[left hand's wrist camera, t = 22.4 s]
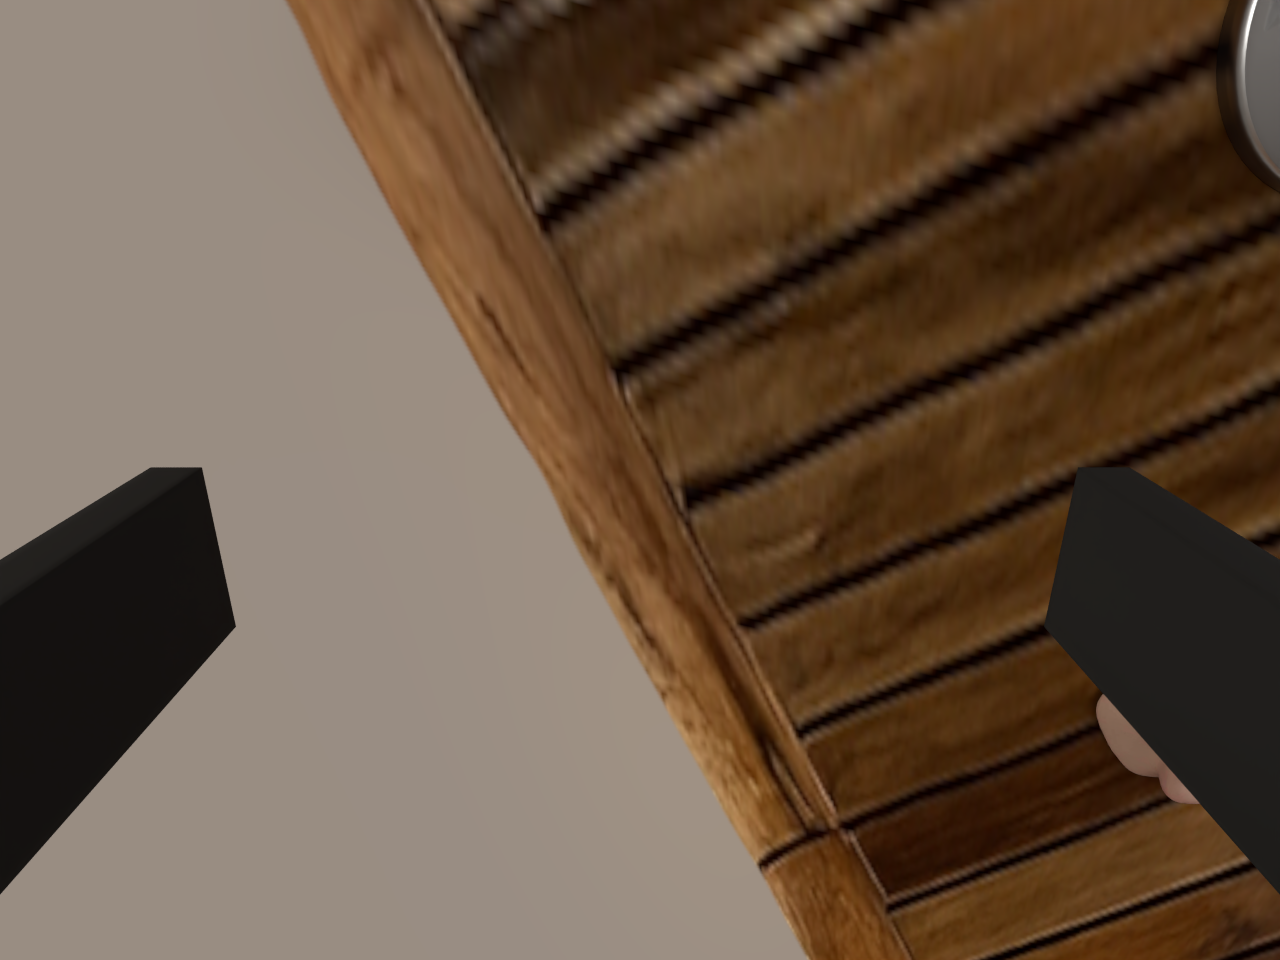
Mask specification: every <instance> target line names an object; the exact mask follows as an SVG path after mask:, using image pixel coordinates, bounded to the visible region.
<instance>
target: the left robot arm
mask: <svg viewBox="0 0 1280 960" xmlns="http://www.w3.org/2000/svg"><path fill="white" fill-rule="evenodd" d="M1216 81H1217V95H1218V102H1219V108H1220V112H1221V116H1222V121H1223V124H1224V126H1225V129H1226V132H1227V135H1228V137H1229V139H1230V141H1231V143H1232V145H1233V147H1234V149H1235V151H1236V152H1237V154H1238V155H1239V157H1240V158H1241V160H1242V161H1243V162H1244V163H1245V165H1246V166H1247V167H1248V168H1249V169H1250V170H1251V171H1252V172H1253V173H1254V174H1255V175H1256V176H1257V177H1258V178H1259V179H1260V180H1262V181H1263V182H1264V183H1266V184H1267V185H1269V186H1270V187H1272V188H1273V189H1275V190H1277V191H1279V192H1280V0H1230V1H1229V5H1228V8H1227V11H1226V14H1225V17H1224V21H1223V25H1222V30H1221V34H1220V40H1219V46H1218V53H1217V68H1216ZM235 627H236V625H235V620H234V616H233V611H232V606H231V602H230V597H229V592H228V588H227V583H226V579H225V574H224V569H223V564H222V560H221V555H220V550H219V546H218V541H217V536H216V531H215V527H214V522H213V517H212V513H211V508H210V503H209V499H208V494H207V489H206V485H205V480H204V475H203V471H202V468H149V469H148V470H146V471H144V472H143V473H141V474H139V475H138V476H136V477H134V478H133V479H131V480H130V481H128V482H126V483H125V484H123V485H121V486H120V487H118V488H116V489H115V490H113V491H112V492H110V493H108V494H107V495H105V496H103V497H102V498H100V499H99V500H97V501H95V502H94V503H92V504H90V505H89V506H87V507H86V508H84V509H82V510H81V511H79V512H77V513H76V514H74V515H72V516H71V517H69V518H68V519H66V520H64V521H63V522H61V523H59V524H58V525H56V526H55V527H53V528H51V529H50V530H48V531H46V532H45V533H43V534H42V535H40V536H38V537H37V538H35V539H33V540H32V541H30V542H28V543H27V544H25V545H24V546H22V547H20V548H19V549H17V550H15V551H14V552H12V553H11V554H9V555H7V556H6V557H4V558H3V559H1V560H0V894H1V893H2V892H3V891H4V889H5V888H6V887H7V886H8V885H9V884H10V883H11V881H12V880H13V879H14V878H15V877H16V876H17V875H18V874H19V872H20V871H21V870H22V869H23V868H24V867H25V866H26V864H27V863H28V862H29V861H30V860H31V859H32V858H33V857H34V855H35V854H36V853H37V852H38V851H39V850H40V849H41V847H42V846H43V845H44V844H45V843H46V842H47V841H48V839H49V838H50V837H51V836H52V835H53V834H54V833H55V832H56V830H57V829H58V828H59V827H60V826H61V825H62V824H63V822H64V821H65V820H66V819H67V818H68V817H69V816H70V814H71V813H72V812H73V811H74V810H75V809H76V808H77V807H78V805H79V804H80V803H81V802H82V801H83V800H84V799H85V797H86V796H87V795H88V794H89V793H90V792H91V791H92V789H93V788H94V787H95V786H96V785H97V784H98V783H99V782H100V780H101V779H102V778H103V777H104V776H105V775H106V774H107V772H108V771H109V770H110V769H111V768H112V767H113V766H114V764H115V763H116V762H117V761H118V760H119V759H120V758H121V757H122V755H123V754H124V753H125V752H126V751H127V750H128V749H129V747H130V746H131V745H132V744H133V743H134V742H135V741H136V739H137V738H138V737H139V736H140V735H141V734H142V733H143V732H144V730H145V729H146V728H147V727H148V726H149V725H150V724H151V722H152V721H153V720H154V719H155V718H156V717H157V716H158V714H159V713H160V712H161V711H162V710H163V709H164V708H165V707H166V705H167V704H168V703H169V702H170V701H171V700H172V699H173V697H174V696H175V695H176V694H177V693H178V692H179V691H180V689H181V688H182V687H183V686H184V685H185V684H186V683H187V681H188V680H189V679H190V678H191V677H192V676H193V675H194V674H195V672H196V671H197V670H198V669H199V668H200V667H201V666H202V664H203V663H204V662H205V661H206V660H207V659H208V658H209V656H210V655H211V654H212V653H213V652H214V651H215V650H216V648H217V647H218V646H219V645H220V644H221V643H222V642H223V641H224V639H225V638H226V637H227V636H228V635H229V634H230V633H231V631H232V630H233V629H234V628H235ZM1044 627H1045V628H1046V629H1047V630H1048V632H1049V633H1050V634H1051V635H1052V636H1053V637H1054V638H1055V639H1056V641H1057V642H1058V643H1059V644H1060V645H1061V646H1062V647H1063V649H1064V650H1065V651H1066V652H1067V653H1068V654H1069V655H1070V657H1071V658H1072V659H1073V660H1074V661H1075V662H1076V663H1077V664H1078V666H1079V667H1080V668H1081V669H1082V670H1083V671H1084V672H1085V674H1086V675H1087V676H1088V677H1089V678H1090V679H1091V680H1092V682H1093V683H1094V684H1095V685H1096V686H1097V687H1098V688H1099V689H1100V691H1101V692H1102V693H1103V694H1104V695H1105V696H1106V697H1107V699H1108V700H1109V701H1110V702H1111V703H1112V704H1113V705H1114V707H1115V708H1116V709H1117V710H1118V711H1119V712H1120V713H1121V714H1122V716H1123V717H1124V718H1125V719H1126V720H1127V721H1128V722H1129V724H1130V725H1131V726H1132V727H1133V728H1134V729H1135V730H1136V732H1137V733H1138V734H1139V735H1140V736H1141V737H1142V738H1143V739H1144V741H1145V742H1146V743H1147V744H1148V745H1149V746H1150V747H1151V749H1152V750H1153V751H1154V752H1155V753H1156V754H1157V755H1158V757H1159V758H1160V759H1161V760H1162V761H1163V762H1164V763H1165V764H1166V766H1167V767H1168V768H1169V769H1170V770H1171V771H1172V772H1173V774H1174V775H1175V776H1176V777H1177V778H1178V779H1179V780H1180V782H1181V783H1182V784H1183V785H1184V786H1185V787H1186V788H1187V789H1188V791H1189V792H1190V793H1191V794H1192V795H1193V796H1194V797H1195V799H1196V800H1197V801H1198V802H1199V803H1200V804H1201V805H1202V807H1203V808H1204V809H1205V810H1206V811H1207V812H1208V813H1209V814H1210V816H1211V817H1212V818H1213V819H1214V820H1215V821H1216V822H1217V824H1218V825H1219V826H1220V827H1221V828H1222V829H1223V830H1224V832H1225V833H1226V834H1227V835H1228V836H1229V837H1230V838H1231V839H1232V841H1233V842H1234V843H1235V844H1236V845H1237V846H1238V847H1239V849H1240V850H1241V851H1242V852H1243V853H1244V854H1245V855H1246V857H1247V858H1248V859H1249V860H1250V861H1251V862H1252V863H1253V864H1254V866H1255V867H1256V868H1257V869H1258V870H1259V871H1260V872H1261V874H1262V875H1263V876H1264V877H1265V878H1266V879H1267V880H1268V882H1269V883H1270V884H1271V885H1272V886H1273V887H1274V888H1275V889H1276V891H1277V892H1278V893H1279V894H1280V560H1279V559H1278V558H1276V557H1274V556H1273V555H1271V554H1269V553H1268V552H1266V551H1265V550H1263V549H1261V548H1260V547H1258V546H1256V545H1255V544H1253V543H1252V542H1250V541H1248V540H1247V539H1245V538H1243V537H1242V536H1240V535H1238V534H1237V533H1235V532H1234V531H1232V530H1230V529H1229V528H1227V527H1225V526H1224V525H1222V524H1221V523H1219V522H1217V521H1216V520H1214V519H1212V518H1211V517H1209V516H1208V515H1206V514H1204V513H1203V512H1201V511H1199V510H1198V509H1196V508H1194V507H1193V506H1191V505H1190V504H1188V503H1186V502H1185V501H1183V500H1181V499H1180V498H1178V497H1177V496H1175V495H1173V494H1172V493H1170V492H1168V491H1167V490H1165V489H1164V488H1162V487H1160V486H1159V485H1157V484H1155V483H1154V482H1152V481H1150V480H1149V479H1147V478H1146V477H1144V476H1142V475H1141V474H1139V473H1137V472H1136V471H1134V470H1133V469H1131V468H1078V471H1077V475H1076V480H1075V485H1074V489H1073V494H1072V499H1071V503H1070V508H1069V513H1068V517H1067V522H1066V527H1065V531H1064V536H1063V541H1062V546H1061V550H1060V555H1059V560H1058V564H1057V569H1056V574H1055V578H1054V583H1053V588H1052V592H1051V597H1050V602H1049V606H1048V611H1047V616H1046V620H1045V625H1044Z"/></svg>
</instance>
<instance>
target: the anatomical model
mask: <svg viewBox="0 0 1280 960" xmlns="http://www.w3.org/2000/svg"><path fill="white" fill-rule="evenodd" d="M1096 714H1097V719H1098V722H1099V725H1100V728H1101V730H1102V732H1103V734H1104V736H1105V738H1106V740H1107V742H1108V744H1109V746H1110V748H1111V750H1112V751H1113V752H1114V754H1115V755H1116V756H1117V757H1118V759H1119V760H1120V761H1121V763H1122V764H1123V765H1124V766H1125V767H1126V768H1127V769H1129V770H1130V771H1132V772H1134V773H1136V774H1139V775H1143V776H1150V777H1159V779H1160V784H1161V787H1162V789H1163V791H1164V792H1165V794H1166V795H1167V796H1168V797H1169V798H1171V799H1172V800H1174V801H1176V802H1180V803H1188V804H1200V803H1199V802H1198V801H1197V800H1196V799H1195V797H1194V796H1193V795H1192V794H1191V793H1190V792H1189V791H1188V789H1187V788H1186V787H1185V786H1184V785H1183V784H1182V783H1181V782H1180V780H1179V779H1178V778H1177V777H1176V776H1175V775H1174V774H1173V772H1172V771H1171V770H1170V769H1169V768H1168V767H1167V766H1166V764H1165V763H1164V762H1163V761H1162V760H1161V759H1160V758H1159V757H1158V755H1157V754H1156V753H1155V752H1154V751H1153V750H1152V749H1151V747H1150V746H1149V745H1148V744H1147V743H1146V742H1145V741H1144V739H1143V738H1142V737H1141V736H1140V735H1139V734H1138V733H1137V732H1136V730H1135V729H1134V728H1133V727H1132V726H1131V725H1130V724H1129V722H1128V721H1127V720H1126V719H1125V718H1124V717H1123V716H1122V714H1121V713H1120V712H1119V711H1118V710H1117V709H1116V708H1115V707H1114V705H1113V704H1112V703H1111V702H1110V701H1109V700H1108V699H1107V697H1106V696H1105V695H1104V694H1102V696H1101V697H1100V699H1099V701H1098V703H1097V707H1096Z"/></svg>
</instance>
